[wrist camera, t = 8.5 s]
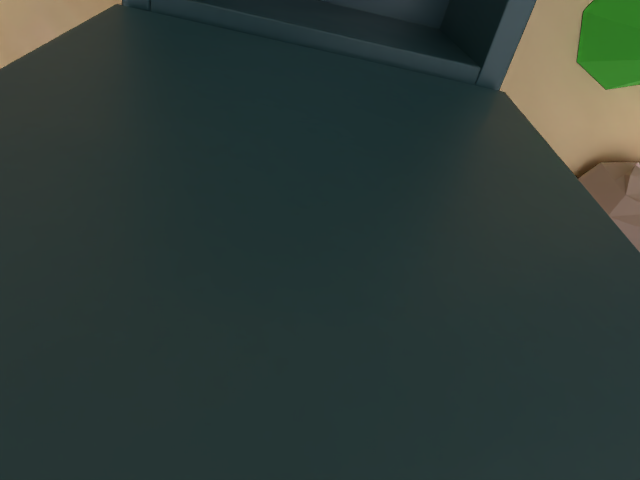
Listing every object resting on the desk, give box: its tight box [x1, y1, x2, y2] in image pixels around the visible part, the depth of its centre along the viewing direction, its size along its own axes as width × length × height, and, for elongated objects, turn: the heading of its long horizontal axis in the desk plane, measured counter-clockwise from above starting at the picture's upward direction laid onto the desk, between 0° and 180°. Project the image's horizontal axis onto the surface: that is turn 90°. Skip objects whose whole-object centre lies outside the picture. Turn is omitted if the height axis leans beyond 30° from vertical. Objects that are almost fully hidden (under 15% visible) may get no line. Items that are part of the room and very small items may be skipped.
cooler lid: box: [0, 4, 640, 480], centre depth 11 cm, size 15×13×5 cm
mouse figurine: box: [578, 162, 640, 252], centre depth 25 cm, size 5×8×7 cm, turn 113°
